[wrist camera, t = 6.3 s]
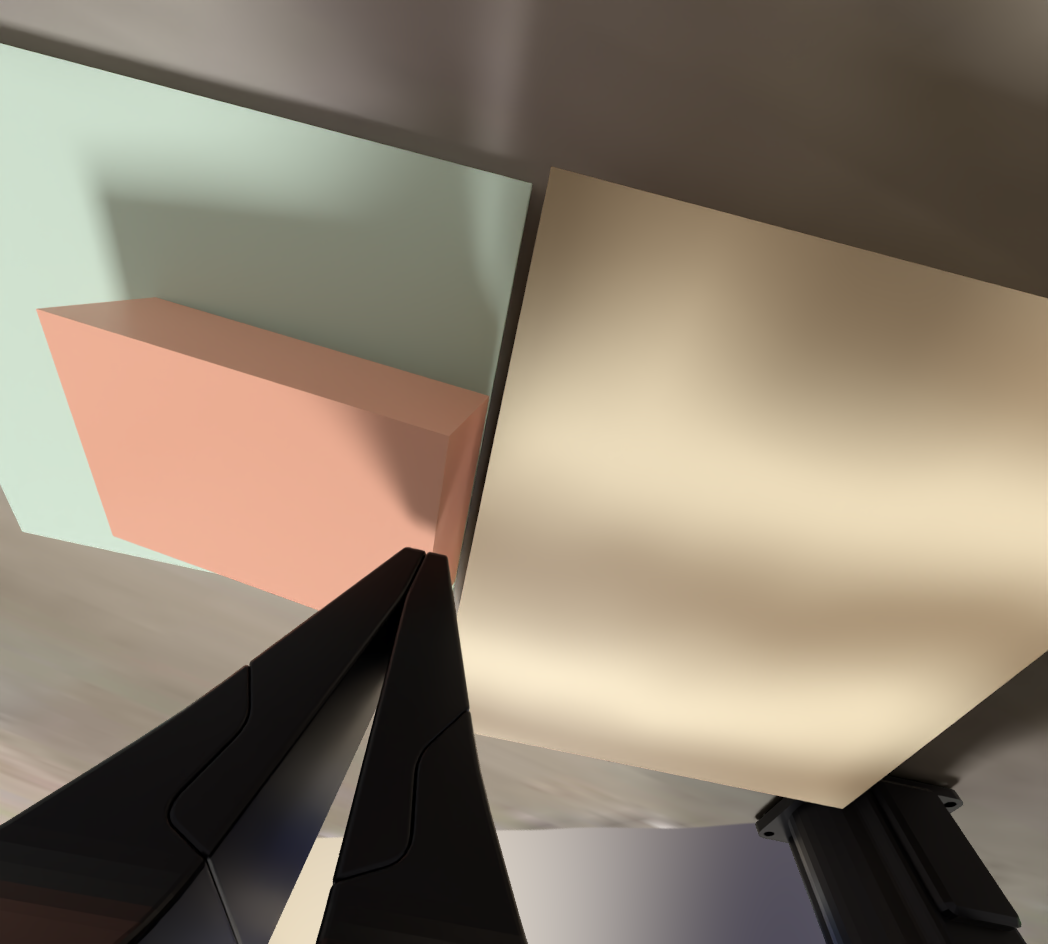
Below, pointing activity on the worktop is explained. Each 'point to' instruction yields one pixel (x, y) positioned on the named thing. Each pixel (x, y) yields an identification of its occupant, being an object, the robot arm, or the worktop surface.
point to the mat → (224, 251)
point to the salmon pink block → (262, 446)
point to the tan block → (754, 500)
